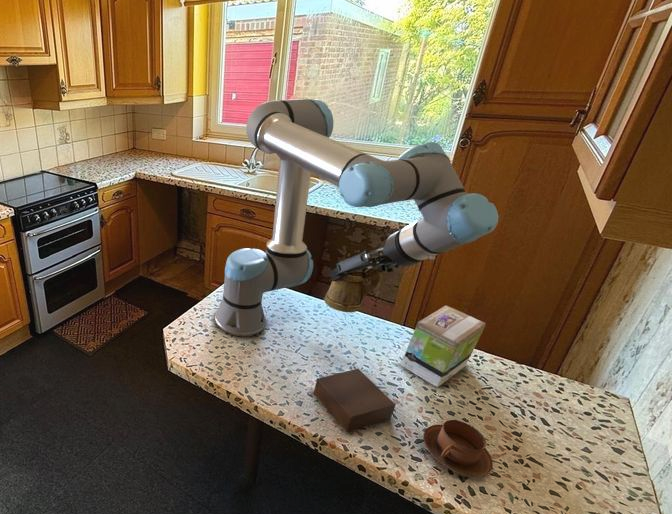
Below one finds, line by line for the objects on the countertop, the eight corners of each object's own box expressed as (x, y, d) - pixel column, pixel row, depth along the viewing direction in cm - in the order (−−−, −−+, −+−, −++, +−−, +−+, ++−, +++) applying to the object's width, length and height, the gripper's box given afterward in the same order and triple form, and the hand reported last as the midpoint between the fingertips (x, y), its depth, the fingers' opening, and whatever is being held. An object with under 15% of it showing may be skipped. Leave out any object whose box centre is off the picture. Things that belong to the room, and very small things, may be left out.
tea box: (438, 389, 100) (459, 342, 93) (399, 365, 108) (415, 321, 101) (466, 366, 107) (487, 322, 100) (428, 346, 115) (444, 303, 108)
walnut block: (313, 393, 99) (317, 378, 96) (353, 383, 102) (358, 368, 99) (346, 432, 88) (351, 416, 86) (390, 420, 92) (396, 404, 89)
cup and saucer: (484, 494, 76) (497, 473, 73) (414, 455, 83) (423, 435, 81) (493, 453, 84) (504, 433, 81) (428, 421, 91) (437, 401, 88)
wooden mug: (373, 325, 95) (393, 257, 87) (318, 303, 104) (332, 240, 96) (385, 310, 101) (404, 245, 93) (332, 290, 109) (346, 230, 101)
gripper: (372, 266, 78) (314, 293, 99) (466, 256, 81) (391, 284, 102) (361, 230, 80) (306, 264, 101) (453, 222, 84) (382, 256, 105)
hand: (349, 274), depth 102 cm, fingers closed on wooden mug, 9 cm apart
